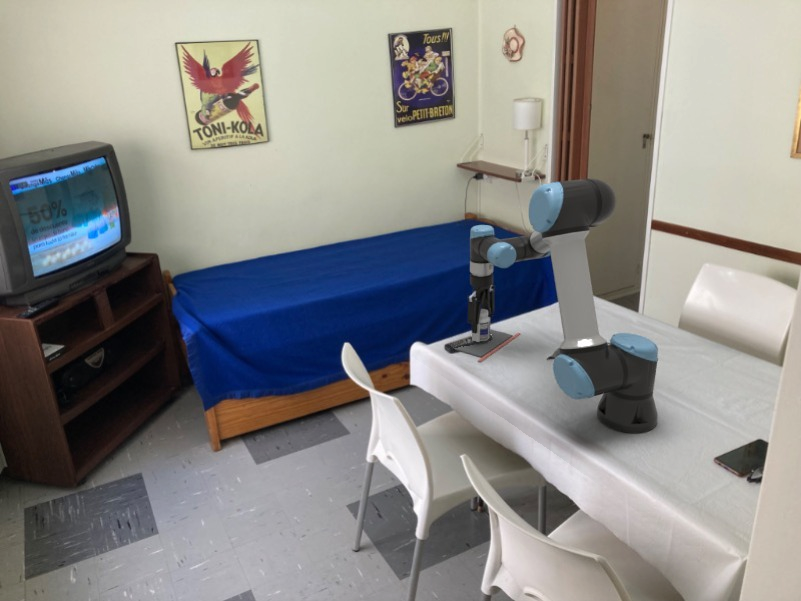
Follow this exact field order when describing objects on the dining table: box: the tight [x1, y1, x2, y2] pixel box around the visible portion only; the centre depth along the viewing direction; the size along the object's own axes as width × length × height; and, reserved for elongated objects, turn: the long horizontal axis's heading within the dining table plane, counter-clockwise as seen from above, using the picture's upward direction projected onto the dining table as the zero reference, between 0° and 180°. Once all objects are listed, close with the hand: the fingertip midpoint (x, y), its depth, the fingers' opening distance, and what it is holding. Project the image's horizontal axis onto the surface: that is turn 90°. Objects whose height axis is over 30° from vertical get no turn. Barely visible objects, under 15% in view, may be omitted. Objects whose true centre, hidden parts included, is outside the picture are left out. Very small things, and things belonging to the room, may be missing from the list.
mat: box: [453, 328, 514, 359], centre depth 218 cm, size 20×11×1 cm, turn 141°
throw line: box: [477, 332, 522, 363], centre depth 214 cm, size 26×1×1 cm, turn 141°
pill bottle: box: [479, 308, 491, 341], centre depth 216 cm, size 6×6×10 cm
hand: (480, 337), depth 218 cm, fingers closed on pill bottle, 6 cm apart
